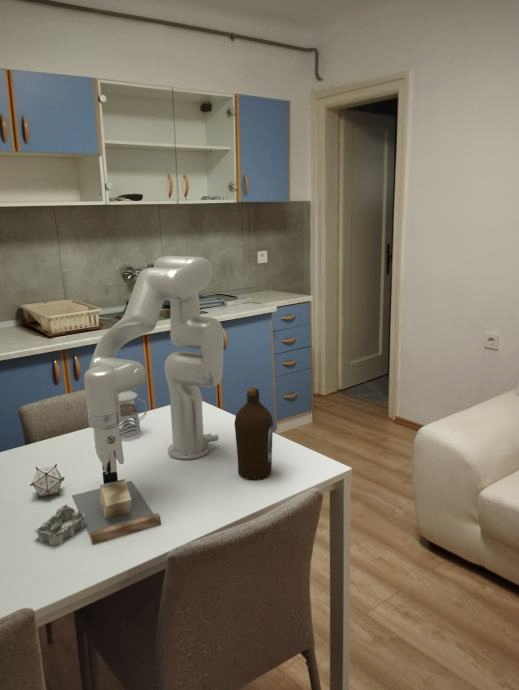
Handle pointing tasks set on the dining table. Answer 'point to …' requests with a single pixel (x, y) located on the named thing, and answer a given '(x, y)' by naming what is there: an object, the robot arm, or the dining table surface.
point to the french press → (129, 429)
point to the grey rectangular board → (94, 511)
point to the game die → (47, 481)
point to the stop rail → (125, 528)
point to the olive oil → (254, 438)
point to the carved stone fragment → (53, 526)
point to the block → (115, 498)
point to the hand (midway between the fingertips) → (111, 486)
